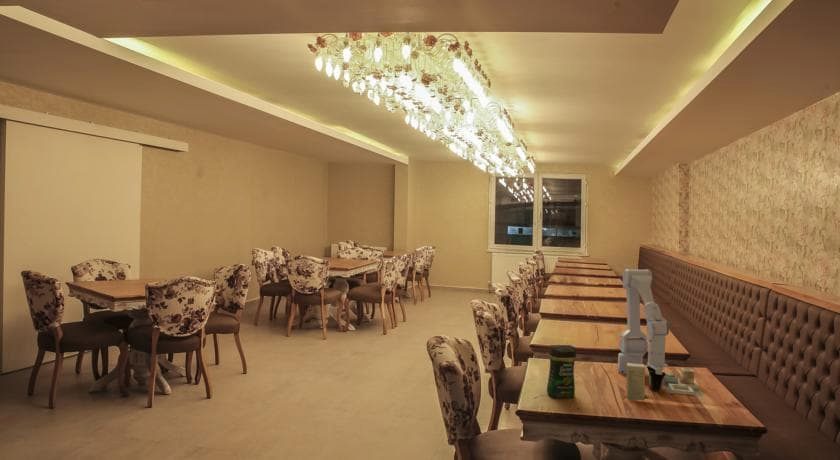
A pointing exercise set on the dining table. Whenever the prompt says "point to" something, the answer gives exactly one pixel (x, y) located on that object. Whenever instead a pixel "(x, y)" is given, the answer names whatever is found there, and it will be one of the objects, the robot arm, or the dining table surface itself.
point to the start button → (669, 375)
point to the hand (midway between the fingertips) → (655, 387)
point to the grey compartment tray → (684, 389)
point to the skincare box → (635, 381)
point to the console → (670, 380)
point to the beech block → (687, 376)
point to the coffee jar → (561, 371)
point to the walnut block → (651, 384)
